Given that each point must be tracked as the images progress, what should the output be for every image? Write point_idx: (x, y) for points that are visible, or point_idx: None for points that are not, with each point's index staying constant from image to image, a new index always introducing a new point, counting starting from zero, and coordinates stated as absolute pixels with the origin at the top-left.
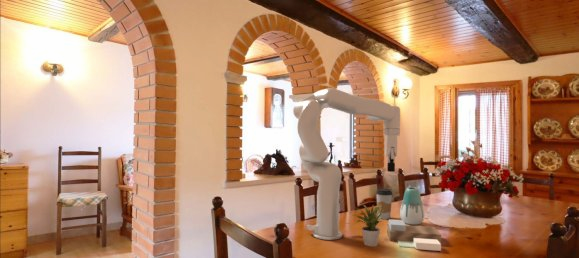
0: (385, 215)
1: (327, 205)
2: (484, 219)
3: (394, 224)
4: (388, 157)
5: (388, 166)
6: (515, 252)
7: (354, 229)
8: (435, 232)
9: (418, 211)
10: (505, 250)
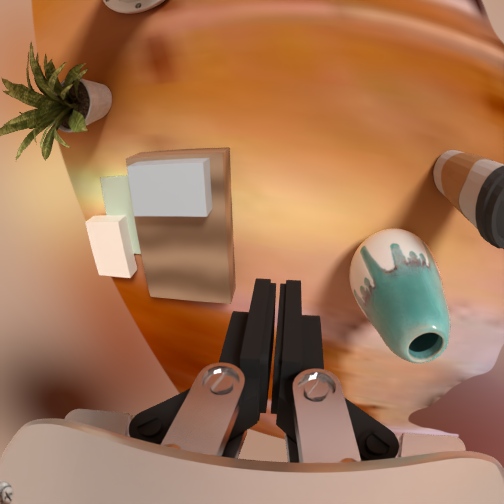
0: (437, 177)
1: None
2: (411, 409)
3: (131, 178)
4: (206, 450)
5: (246, 325)
6: (171, 381)
7: (247, 32)
8: (166, 289)
9: (356, 300)
10: (176, 374)
